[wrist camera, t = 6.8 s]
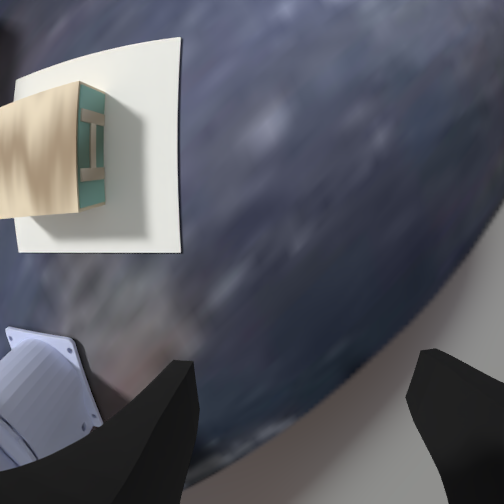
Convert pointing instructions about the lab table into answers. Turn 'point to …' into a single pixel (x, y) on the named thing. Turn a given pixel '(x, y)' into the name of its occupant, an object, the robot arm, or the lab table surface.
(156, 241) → the mat
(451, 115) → the lab table surface
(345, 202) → the lab table surface
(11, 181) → the beech block
